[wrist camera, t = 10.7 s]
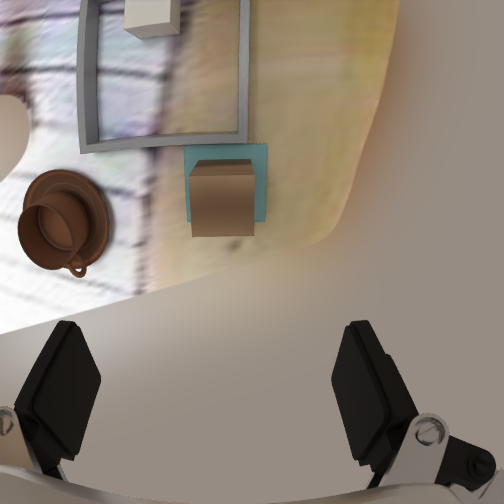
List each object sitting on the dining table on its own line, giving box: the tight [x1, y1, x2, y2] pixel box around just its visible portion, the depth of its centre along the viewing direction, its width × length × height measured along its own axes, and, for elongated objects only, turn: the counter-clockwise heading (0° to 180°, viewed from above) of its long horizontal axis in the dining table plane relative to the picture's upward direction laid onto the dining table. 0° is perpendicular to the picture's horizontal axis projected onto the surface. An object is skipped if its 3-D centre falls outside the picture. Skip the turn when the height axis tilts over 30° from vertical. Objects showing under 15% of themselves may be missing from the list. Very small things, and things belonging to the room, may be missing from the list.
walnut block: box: [188, 159, 255, 237], centre depth 27 cm, size 5×5×7 cm
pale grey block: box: [124, 0, 181, 39], centre depth 20 cm, size 4×4×5 cm
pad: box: [184, 144, 267, 222], centre depth 30 cm, size 8×8×1 cm
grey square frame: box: [77, 0, 250, 154], centre depth 23 cm, size 17×16×3 cm
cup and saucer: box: [18, 169, 109, 278], centre depth 28 cm, size 12×12×6 cm
